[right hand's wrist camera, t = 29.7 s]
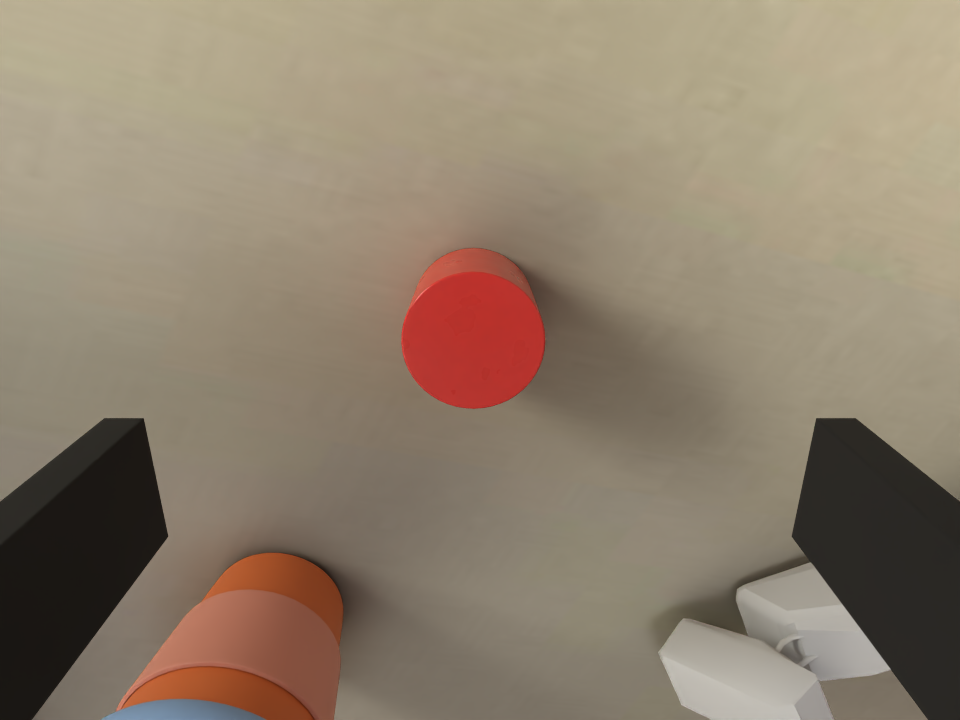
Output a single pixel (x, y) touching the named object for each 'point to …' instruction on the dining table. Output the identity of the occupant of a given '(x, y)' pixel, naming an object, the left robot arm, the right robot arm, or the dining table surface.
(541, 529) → the dining table surface
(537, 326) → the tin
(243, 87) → the dining table surface
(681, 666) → the white jointed piece
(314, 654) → the cup with straw
